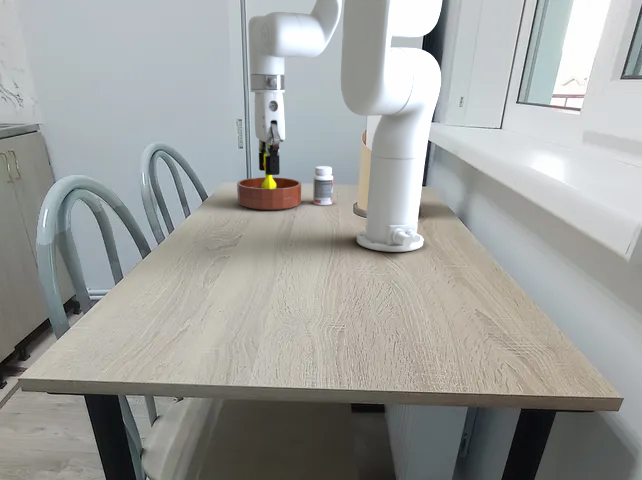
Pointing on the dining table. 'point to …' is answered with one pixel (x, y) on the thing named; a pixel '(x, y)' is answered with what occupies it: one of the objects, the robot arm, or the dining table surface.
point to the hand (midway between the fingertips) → (269, 171)
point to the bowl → (269, 194)
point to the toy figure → (268, 178)
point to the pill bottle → (323, 186)
